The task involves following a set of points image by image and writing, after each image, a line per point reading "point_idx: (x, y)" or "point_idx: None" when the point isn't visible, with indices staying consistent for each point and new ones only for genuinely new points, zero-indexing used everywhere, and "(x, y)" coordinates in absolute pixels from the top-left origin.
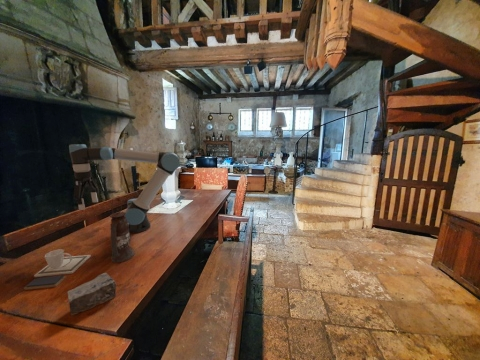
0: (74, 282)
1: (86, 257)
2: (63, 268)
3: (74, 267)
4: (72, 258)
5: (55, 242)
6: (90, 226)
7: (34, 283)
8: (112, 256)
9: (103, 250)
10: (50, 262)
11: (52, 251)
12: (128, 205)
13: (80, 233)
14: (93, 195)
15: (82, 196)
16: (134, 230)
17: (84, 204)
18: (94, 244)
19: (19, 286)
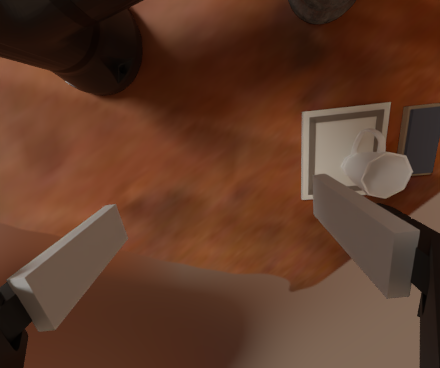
0: (435, 63)
1: (317, 114)
2: (364, 142)
3: (370, 111)
4: (315, 155)
5: (212, 268)
6: None
7: (429, 159)
8: (342, 7)
9: (270, 92)
10: (390, 169)
11: (368, 192)
12: (6, 4)
13: (158, 243)
14: (77, 271)
15: (431, 261)
16: (137, 37)
17: (335, 191)
18: (228, 151)
19: (406, 194)
